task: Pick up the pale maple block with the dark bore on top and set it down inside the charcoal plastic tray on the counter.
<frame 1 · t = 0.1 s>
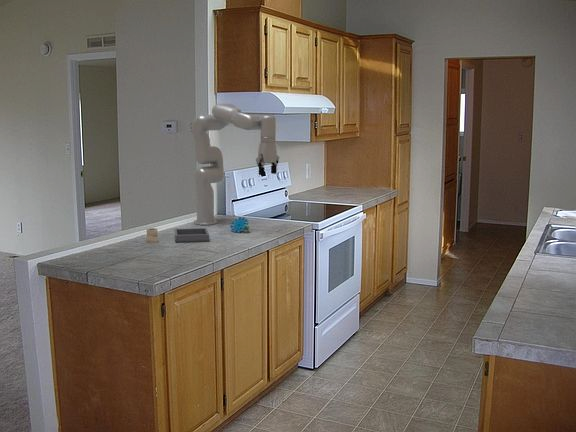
hand: (267, 174, 315), 31 cm above the worktop, tool pointing down, fingers open, 9 cm apart
gear: (240, 232, 326), on the worktop
maple block: (152, 241, 301), on the worktop
tray: (191, 238, 308), on the worktop
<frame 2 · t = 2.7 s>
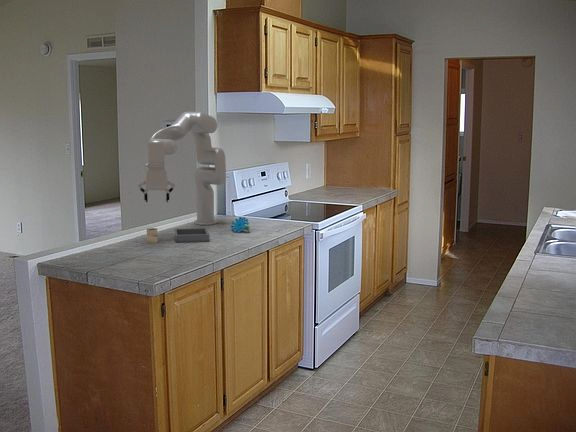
hand: (156, 201, 298), 19 cm above the worktop, tool pointing down, fingers open, 9 cm apart
nothing on the worktop moved.
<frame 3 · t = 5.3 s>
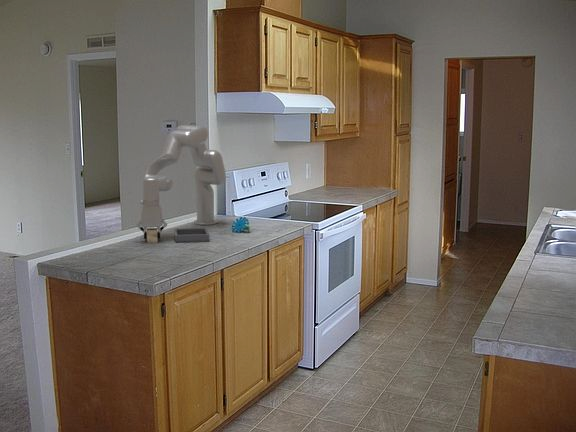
hand: (152, 239, 301), 1 cm above the worktop, tool pointing down, fingers closed on maple block, 5 cm apart
maple block: (152, 241, 301), on the worktop, touching gripper
everything else where it was.
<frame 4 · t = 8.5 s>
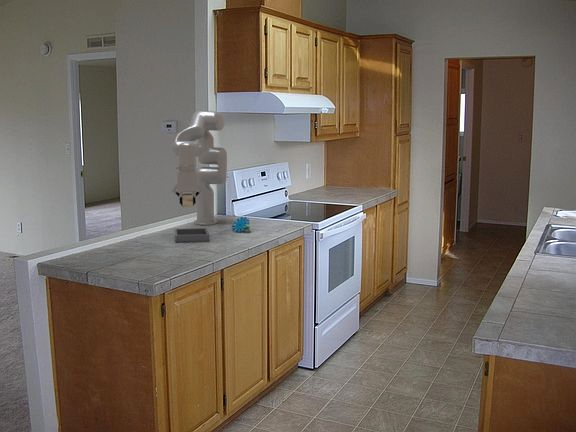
hand: (187, 204, 304), 17 cm above the worktop, tool pointing down, fingers closed on maple block, 5 cm apart
maple block: (187, 206, 304), point 16 cm above the worktop, touching gripper
everything else where it was.
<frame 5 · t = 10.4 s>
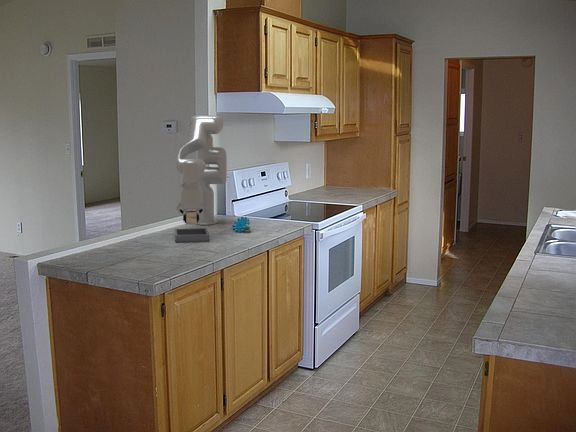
hand: (191, 222, 306), 8 cm above the worktop, tool pointing down, fingers closed on maple block, 5 cm apart
maple block: (191, 223, 306), point 8 cm above the worktop, touching gripper
when the fingers open (3 cm above the worktop, at t = 11.8 s): maple block drops 2 cm, resting on tray.
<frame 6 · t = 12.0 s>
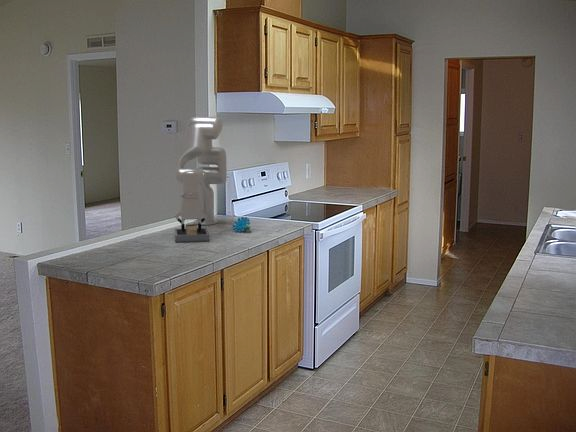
hand: (191, 231, 307), 4 cm above the worktop, tool pointing down, fingers open, 7 cm apart
maple block: (191, 237, 308), point 1 cm above the worktop, touching tray
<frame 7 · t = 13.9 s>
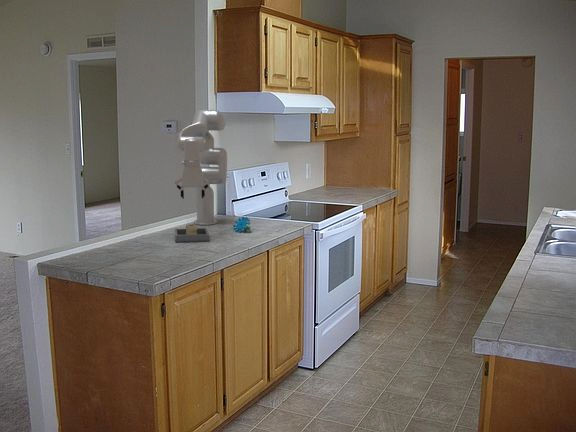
hand: (192, 198, 307), 20 cm above the worktop, tool pointing down, fingers open, 9 cm apart
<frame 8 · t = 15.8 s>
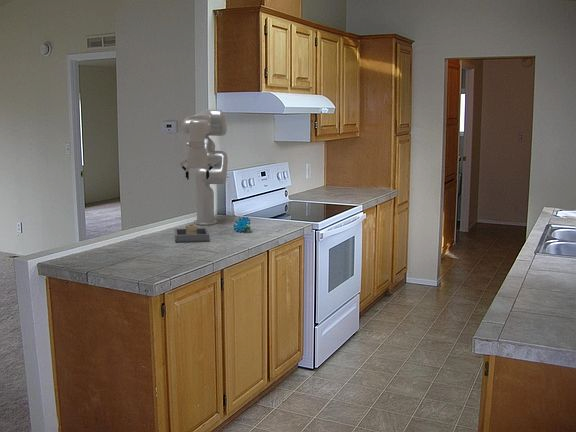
hand: (197, 179, 314), 28 cm above the worktop, tool pointing down, fingers open, 9 cm apart
at the end: maple block inside the target area on the tray (0.0 cm from its centre), point 0.8 cm above the tray's base; maple block tilted 0°; the gripper is holding nothing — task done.
